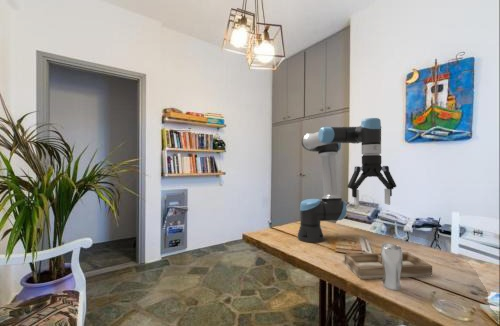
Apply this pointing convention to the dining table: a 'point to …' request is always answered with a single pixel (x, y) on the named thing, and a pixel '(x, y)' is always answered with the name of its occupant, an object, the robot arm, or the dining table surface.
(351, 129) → the robot arm
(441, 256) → the dining table surface
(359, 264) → the tray
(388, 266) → the metal cup
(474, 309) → the dining table surface
